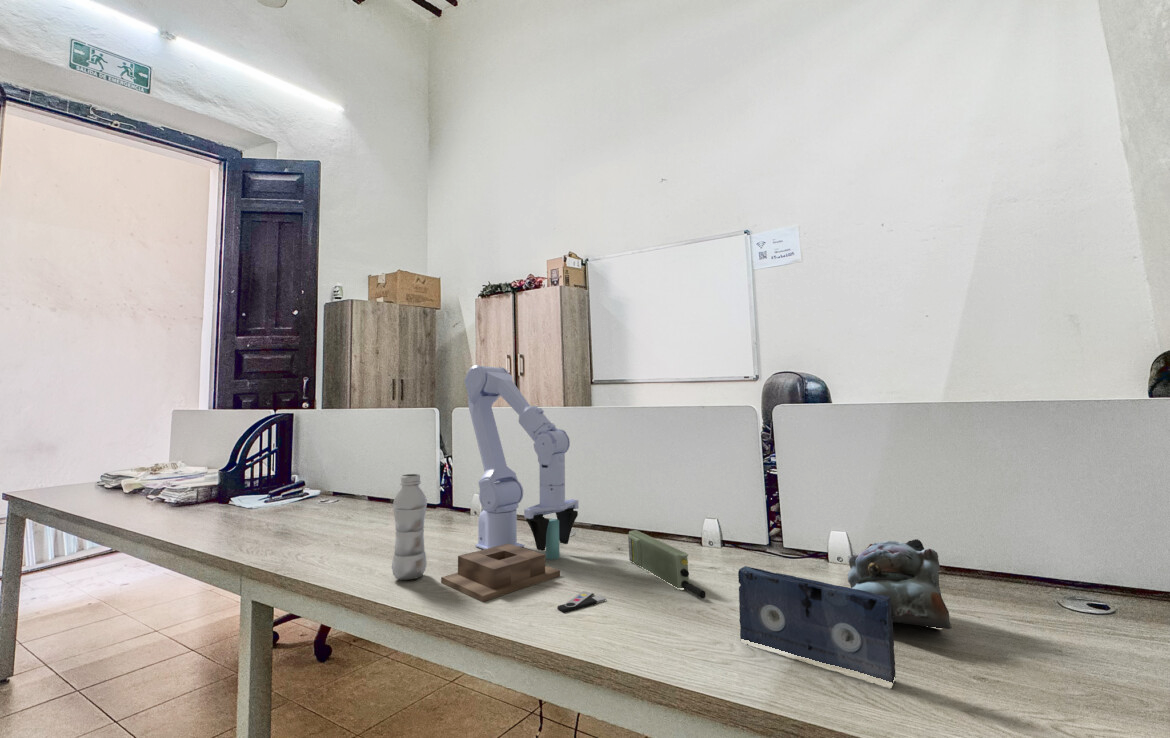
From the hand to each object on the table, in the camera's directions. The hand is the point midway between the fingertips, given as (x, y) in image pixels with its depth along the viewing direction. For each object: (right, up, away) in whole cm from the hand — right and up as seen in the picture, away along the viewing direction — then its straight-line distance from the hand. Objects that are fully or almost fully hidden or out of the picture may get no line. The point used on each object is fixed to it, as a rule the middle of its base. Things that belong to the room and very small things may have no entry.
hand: (552, 546), depth 109 cm
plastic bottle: (-27, -2, -12) cm, 30 cm away
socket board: (-9, -1, -14) cm, 16 cm away
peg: (0, -2, 0) cm, 2 cm away
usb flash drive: (+6, -1, -26) cm, 26 cm away
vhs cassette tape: (+36, +1, -46) cm, 58 cm away
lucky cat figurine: (+53, +1, -35) cm, 64 cm away
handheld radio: (+22, -1, -14) cm, 27 cm away
